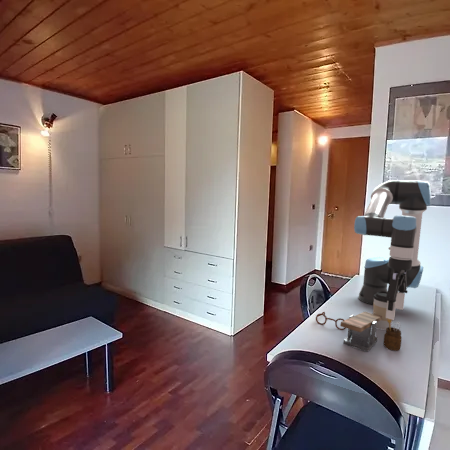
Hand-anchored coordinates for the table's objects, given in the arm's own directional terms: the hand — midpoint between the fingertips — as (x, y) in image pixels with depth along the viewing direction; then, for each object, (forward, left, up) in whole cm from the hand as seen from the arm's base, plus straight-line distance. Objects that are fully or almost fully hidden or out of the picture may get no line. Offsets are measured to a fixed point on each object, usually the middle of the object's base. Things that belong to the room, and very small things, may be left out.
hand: (394, 313), depth 122 cm
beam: (+4, -10, -6) cm, 12 cm away
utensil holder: (-1, 0, -14) cm, 14 cm away
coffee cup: (-18, -8, -14) cm, 24 cm away
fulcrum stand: (+4, -10, -14) cm, 17 cm away
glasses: (-8, -25, -14) cm, 30 cm away
